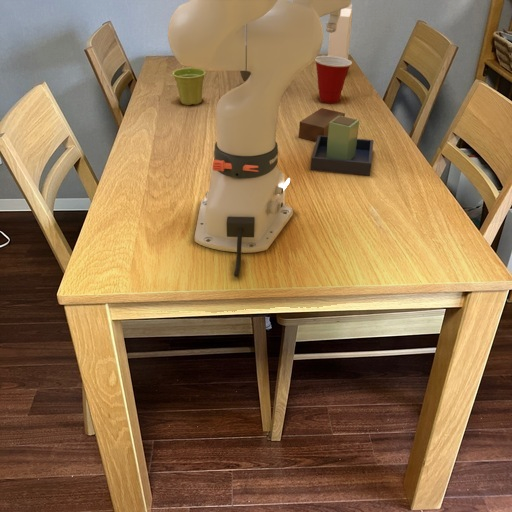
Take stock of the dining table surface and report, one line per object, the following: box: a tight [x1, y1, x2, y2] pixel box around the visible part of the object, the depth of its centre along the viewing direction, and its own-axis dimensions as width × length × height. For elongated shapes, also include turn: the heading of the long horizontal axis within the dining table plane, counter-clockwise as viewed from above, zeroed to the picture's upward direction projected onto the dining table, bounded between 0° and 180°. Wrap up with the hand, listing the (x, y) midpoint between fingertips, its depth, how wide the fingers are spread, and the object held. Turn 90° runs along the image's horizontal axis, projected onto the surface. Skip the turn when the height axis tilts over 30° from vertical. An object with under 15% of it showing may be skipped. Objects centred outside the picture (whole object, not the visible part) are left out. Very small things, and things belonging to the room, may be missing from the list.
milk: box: [327, 3, 353, 60], centre depth 181 cm, size 6×6×22 cm
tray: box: [309, 135, 374, 177], centre depth 130 cm, size 13×13×3 cm
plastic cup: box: [314, 55, 353, 104], centre depth 162 cm, size 11×11×12 cm
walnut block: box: [298, 107, 346, 143], centre depth 143 cm, size 7×12×4 cm, turn 147°
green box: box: [326, 116, 360, 160], centre depth 128 cm, size 10×5×10 cm
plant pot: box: [172, 67, 206, 106], centre depth 161 cm, size 9×9×9 cm
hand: (320, 36), depth 120 cm, fingers open, 8 cm apart
